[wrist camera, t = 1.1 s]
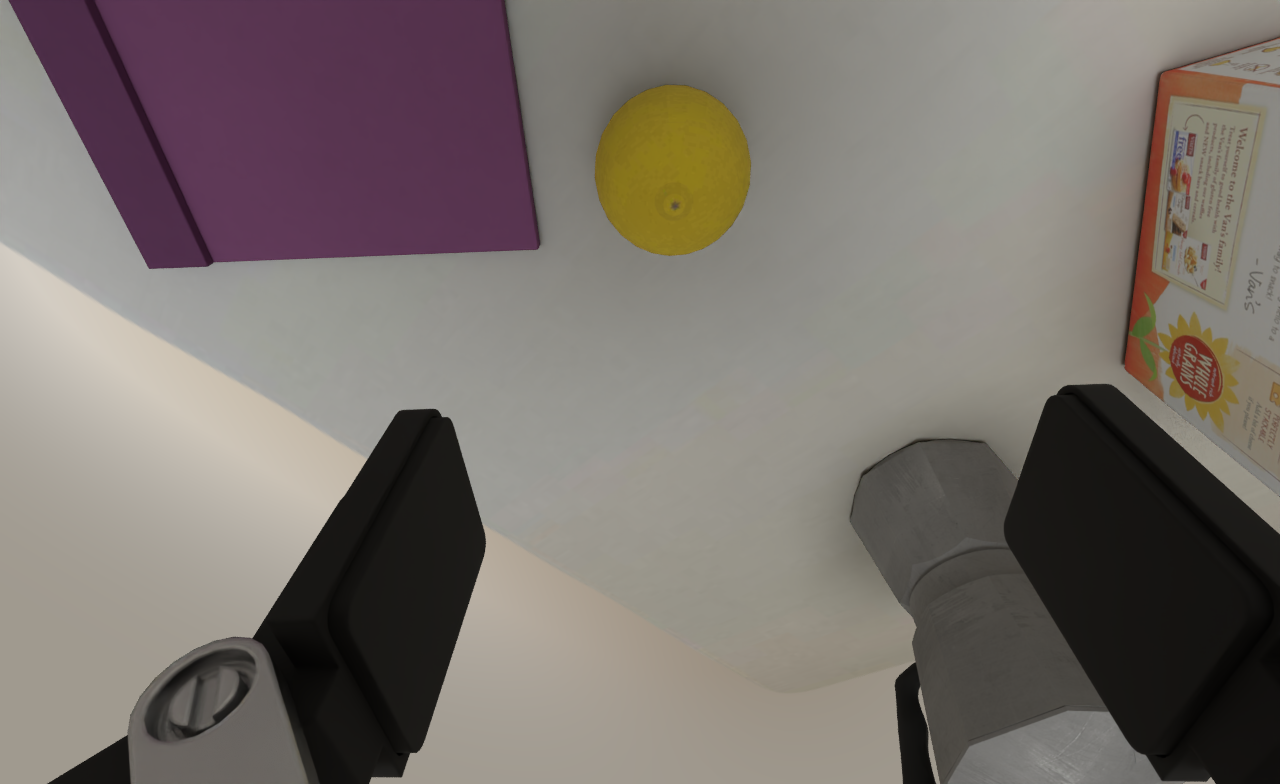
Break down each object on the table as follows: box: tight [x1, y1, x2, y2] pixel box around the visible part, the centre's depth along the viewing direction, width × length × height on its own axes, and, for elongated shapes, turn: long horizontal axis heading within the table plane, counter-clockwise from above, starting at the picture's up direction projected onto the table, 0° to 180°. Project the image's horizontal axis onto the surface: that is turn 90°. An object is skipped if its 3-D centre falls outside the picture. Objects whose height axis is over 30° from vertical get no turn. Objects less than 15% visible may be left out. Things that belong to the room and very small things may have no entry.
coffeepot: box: [850, 439, 1185, 784], centre depth 29 cm, size 15×9×18 cm, turn 157°
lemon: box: [595, 85, 751, 256], centre depth 22 cm, size 6×6×8 cm
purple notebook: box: [9, 0, 540, 269], centre depth 24 cm, size 14×18×1 cm
